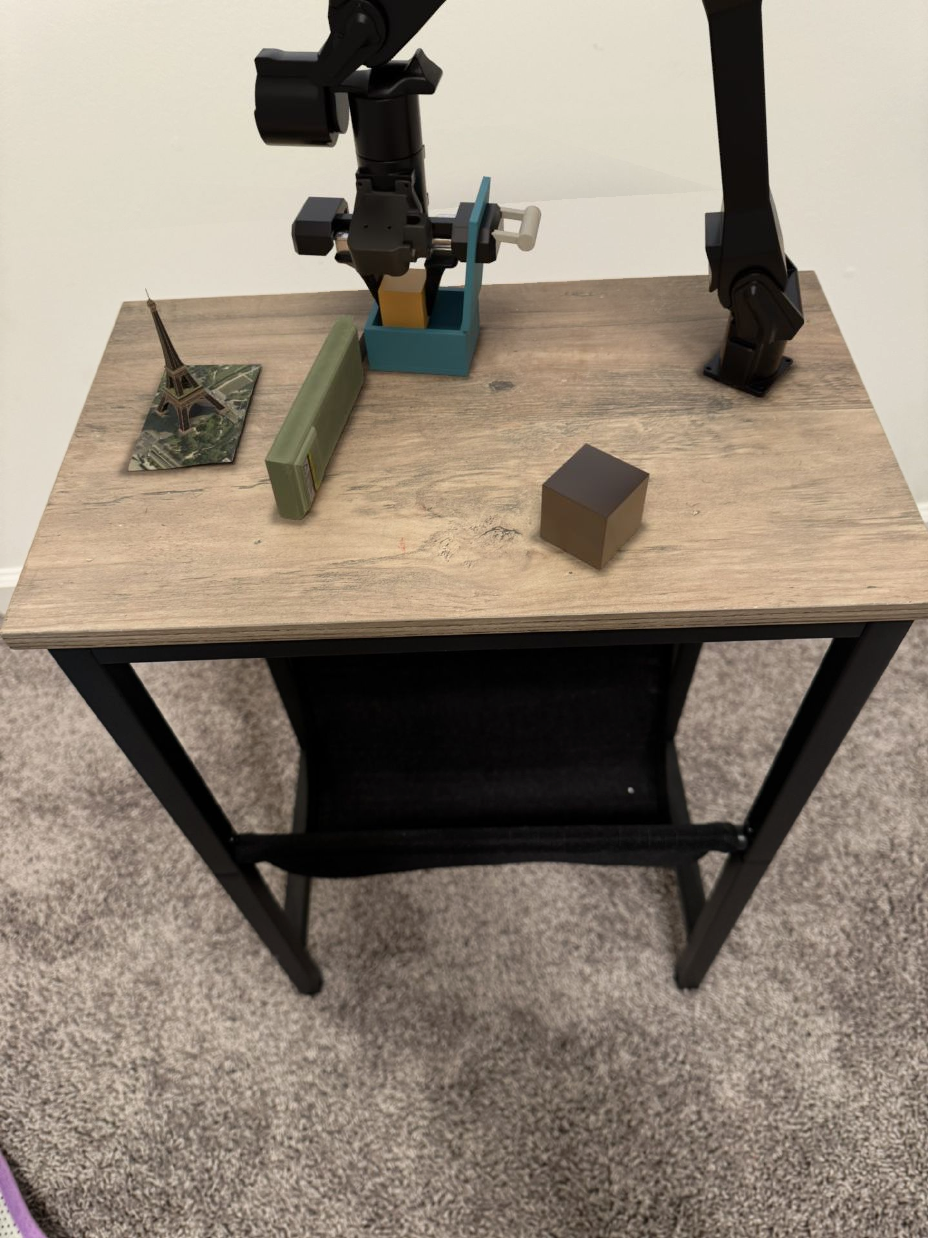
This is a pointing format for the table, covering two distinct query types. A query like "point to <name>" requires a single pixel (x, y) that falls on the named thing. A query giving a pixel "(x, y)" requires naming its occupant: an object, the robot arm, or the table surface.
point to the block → (404, 300)
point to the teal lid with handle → (522, 239)
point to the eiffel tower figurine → (193, 411)
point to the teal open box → (425, 339)
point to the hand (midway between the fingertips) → (407, 312)
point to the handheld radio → (316, 420)
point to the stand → (593, 505)
